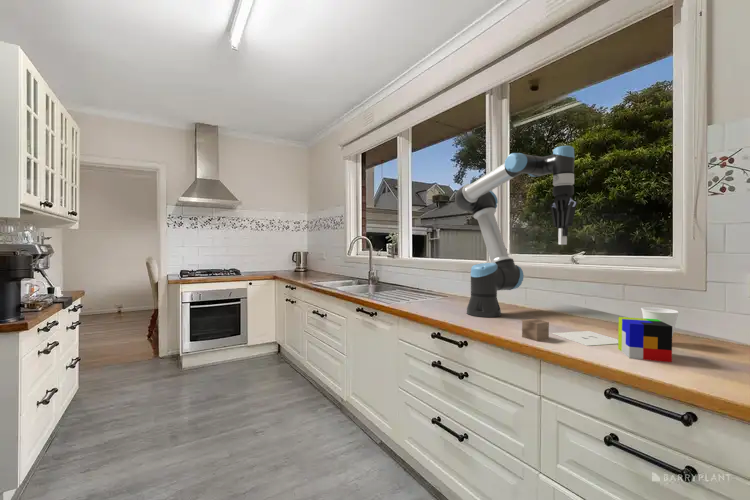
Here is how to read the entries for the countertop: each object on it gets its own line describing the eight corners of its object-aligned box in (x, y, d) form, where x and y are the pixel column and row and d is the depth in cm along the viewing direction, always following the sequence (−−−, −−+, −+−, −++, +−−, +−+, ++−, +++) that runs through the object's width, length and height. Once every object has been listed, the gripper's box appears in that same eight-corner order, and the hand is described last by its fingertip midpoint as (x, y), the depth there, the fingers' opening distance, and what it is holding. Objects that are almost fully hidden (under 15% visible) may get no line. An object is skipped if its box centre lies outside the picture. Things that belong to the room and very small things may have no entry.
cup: (669, 349, 112) (669, 313, 111) (633, 341, 120) (634, 308, 120) (684, 345, 116) (685, 311, 116) (649, 337, 125) (650, 306, 125)
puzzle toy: (629, 358, 103) (629, 323, 102) (618, 348, 112) (618, 316, 112) (671, 362, 99) (672, 326, 99) (656, 352, 109) (657, 319, 109)
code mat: (552, 333, 130) (552, 333, 130) (589, 331, 134) (589, 330, 134) (587, 345, 115) (587, 345, 115) (628, 343, 118) (628, 342, 118)
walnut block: (522, 337, 125) (522, 320, 125) (533, 335, 128) (533, 318, 128) (536, 341, 120) (537, 323, 120) (548, 339, 123) (548, 321, 123)
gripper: (544, 187, 150) (543, 244, 150) (567, 182, 137) (566, 244, 137) (559, 188, 151) (559, 244, 152) (584, 183, 138) (583, 244, 139)
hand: (562, 244), depth 144 cm, fingers closed
